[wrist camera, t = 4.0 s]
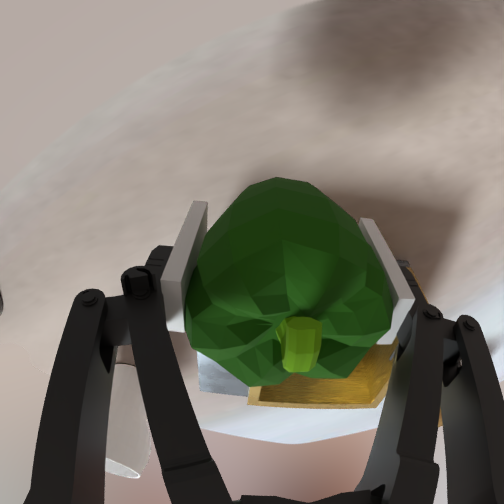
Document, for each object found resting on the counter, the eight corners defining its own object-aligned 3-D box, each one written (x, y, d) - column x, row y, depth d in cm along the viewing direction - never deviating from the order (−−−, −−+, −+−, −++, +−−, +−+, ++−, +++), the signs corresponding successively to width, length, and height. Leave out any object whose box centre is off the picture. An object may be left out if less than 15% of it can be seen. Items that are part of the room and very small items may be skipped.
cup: (107, 346, 39) (69, 440, 27) (176, 378, 42) (153, 474, 30) (96, 377, 45) (67, 455, 32) (155, 403, 47) (135, 482, 35)
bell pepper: (315, 301, 21) (335, 446, 12) (192, 263, 19) (152, 414, 11) (384, 192, 16) (474, 330, 8) (240, 131, 15) (208, 244, 6)
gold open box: (209, 341, 37) (196, 406, 29) (209, 240, 29) (188, 311, 21) (365, 352, 37) (377, 415, 29) (407, 261, 29) (440, 328, 21)
